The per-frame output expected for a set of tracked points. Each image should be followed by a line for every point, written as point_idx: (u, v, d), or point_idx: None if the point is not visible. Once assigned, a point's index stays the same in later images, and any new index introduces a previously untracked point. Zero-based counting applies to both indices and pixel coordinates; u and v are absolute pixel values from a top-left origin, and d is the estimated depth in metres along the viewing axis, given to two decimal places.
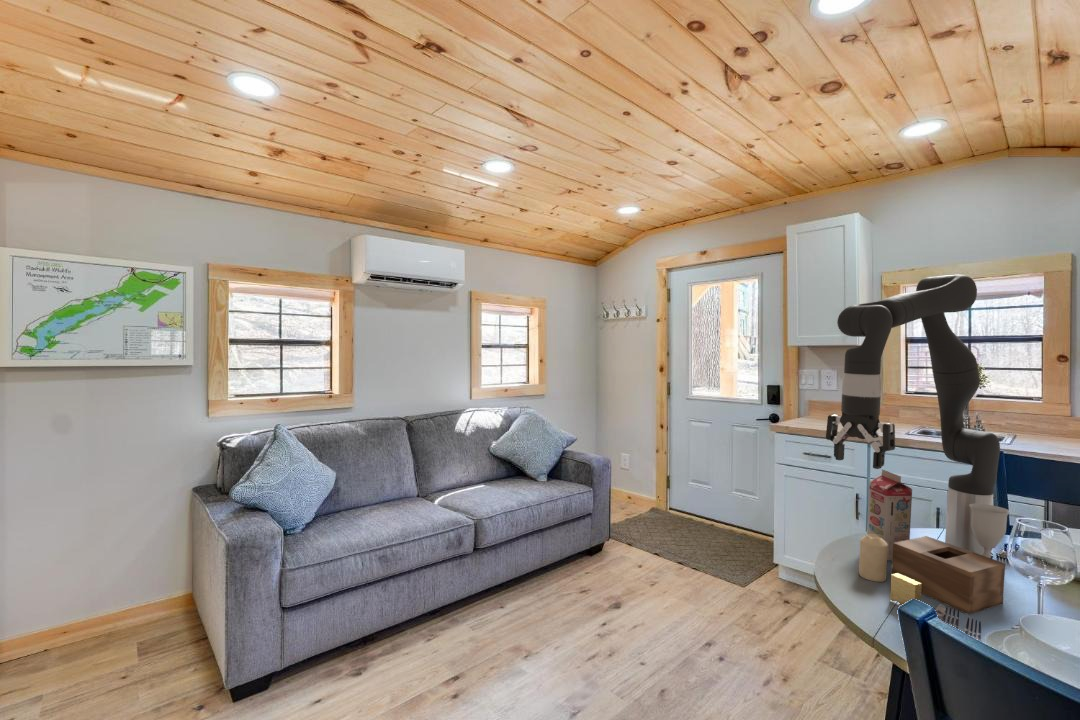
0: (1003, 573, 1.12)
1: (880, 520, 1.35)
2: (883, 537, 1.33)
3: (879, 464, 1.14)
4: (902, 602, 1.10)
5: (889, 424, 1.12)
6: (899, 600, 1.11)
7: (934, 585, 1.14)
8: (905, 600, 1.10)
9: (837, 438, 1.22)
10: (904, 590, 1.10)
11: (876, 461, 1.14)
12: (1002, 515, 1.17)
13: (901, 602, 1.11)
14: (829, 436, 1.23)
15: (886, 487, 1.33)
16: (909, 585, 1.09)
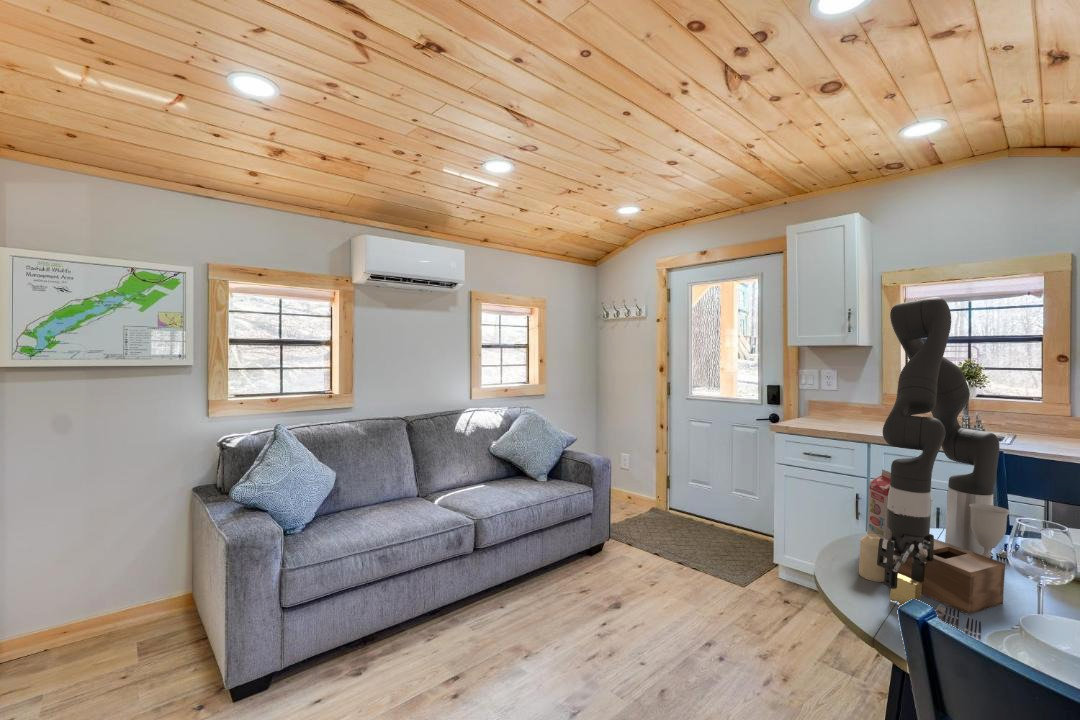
0: (1003, 573, 1.12)
1: (880, 520, 1.35)
2: (883, 537, 1.33)
3: None
4: (902, 602, 1.10)
5: None
6: (899, 600, 1.11)
7: (934, 585, 1.14)
8: (905, 600, 1.10)
9: (897, 565, 1.08)
10: (904, 590, 1.10)
11: None
12: (1002, 515, 1.17)
13: (901, 602, 1.11)
14: (891, 566, 1.07)
15: (886, 487, 1.33)
16: (909, 586, 1.09)
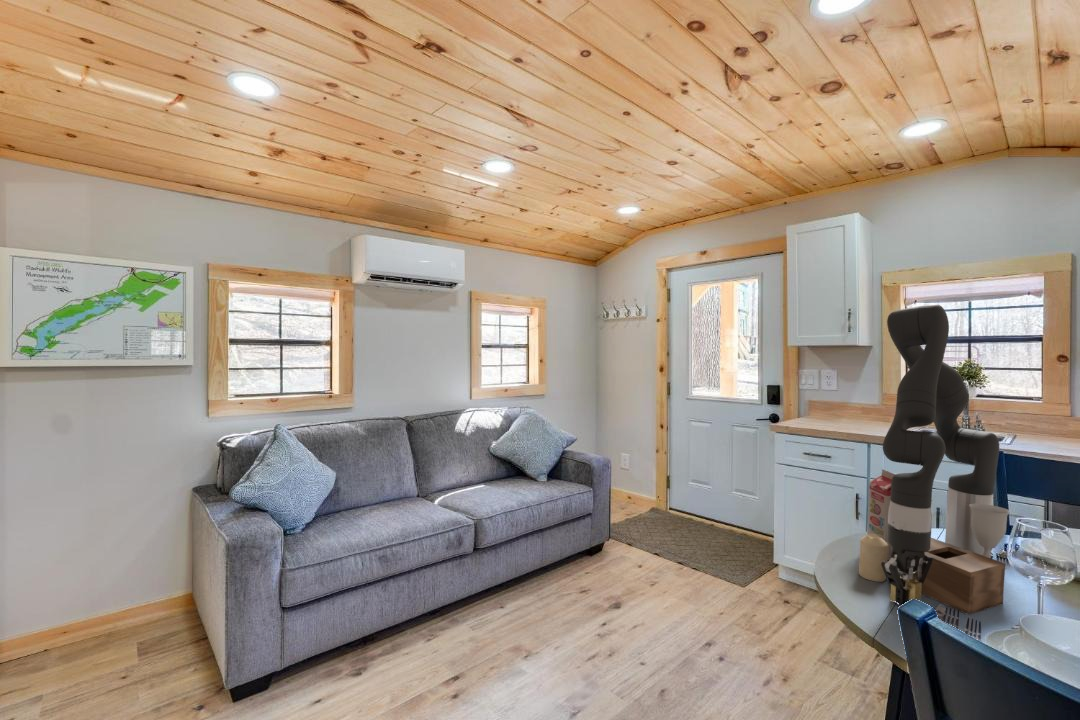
0: (1003, 573, 1.12)
1: (880, 520, 1.35)
2: (883, 537, 1.33)
3: None
4: None
5: None
6: None
7: (934, 585, 1.14)
8: None
9: (907, 583, 1.09)
10: None
11: None
12: (1002, 515, 1.17)
13: None
14: (902, 584, 1.08)
15: (886, 487, 1.33)
16: (909, 585, 1.09)
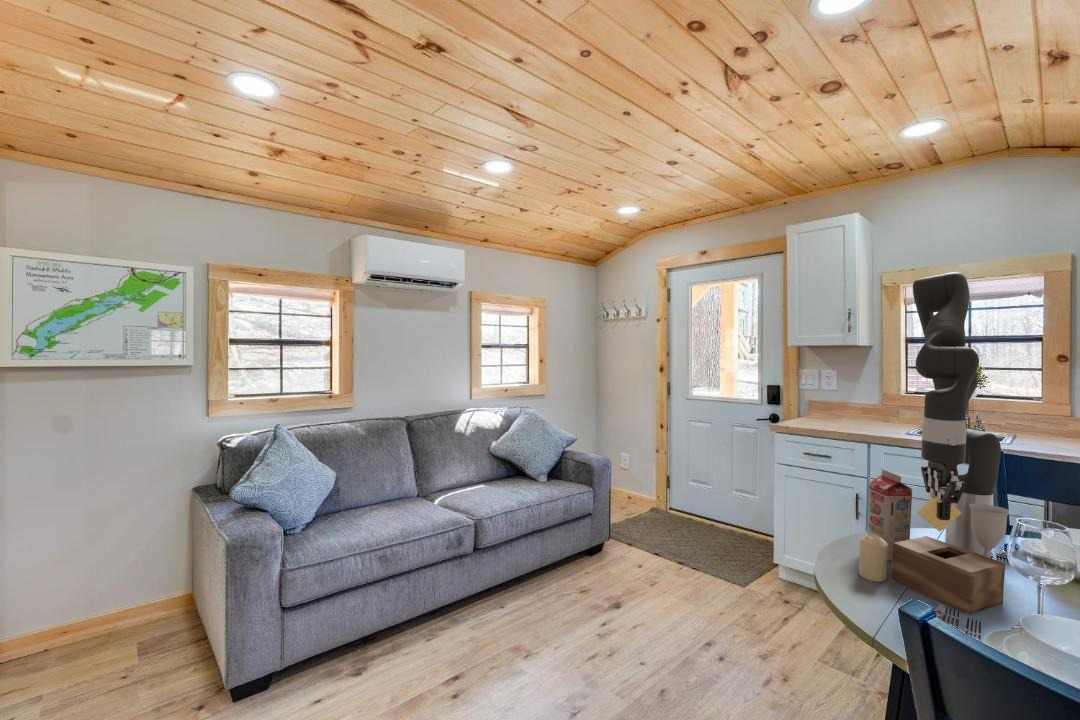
0: (1003, 573, 1.12)
1: (880, 520, 1.35)
2: (883, 537, 1.33)
3: None
4: (934, 520, 1.12)
5: None
6: (932, 518, 1.12)
7: (934, 585, 1.14)
8: (939, 520, 1.12)
9: None
10: None
11: None
12: (1002, 515, 1.17)
13: (933, 520, 1.12)
14: None
15: (886, 487, 1.33)
16: (955, 511, 1.11)
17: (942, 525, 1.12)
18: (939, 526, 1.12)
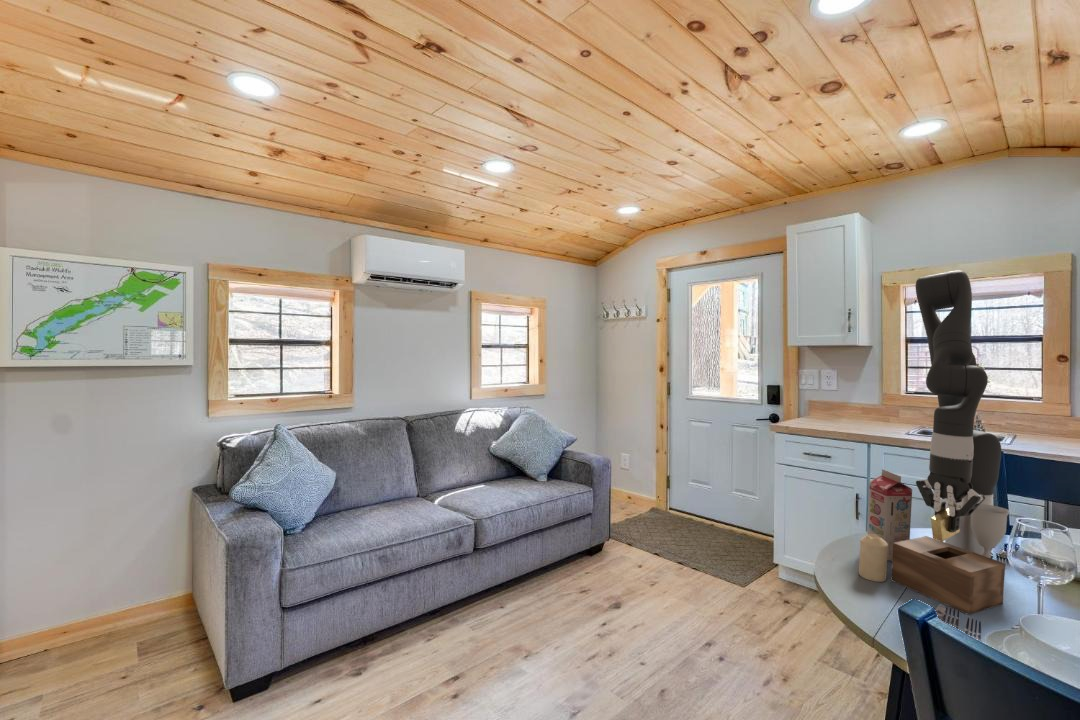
0: (1003, 573, 1.12)
1: (880, 520, 1.35)
2: (883, 537, 1.33)
3: None
4: (944, 529, 1.15)
5: None
6: (944, 527, 1.15)
7: (934, 585, 1.14)
8: (947, 531, 1.15)
9: None
10: None
11: None
12: (1002, 515, 1.17)
13: (944, 529, 1.15)
14: None
15: (886, 487, 1.33)
16: None
17: (946, 536, 1.15)
18: (944, 536, 1.15)
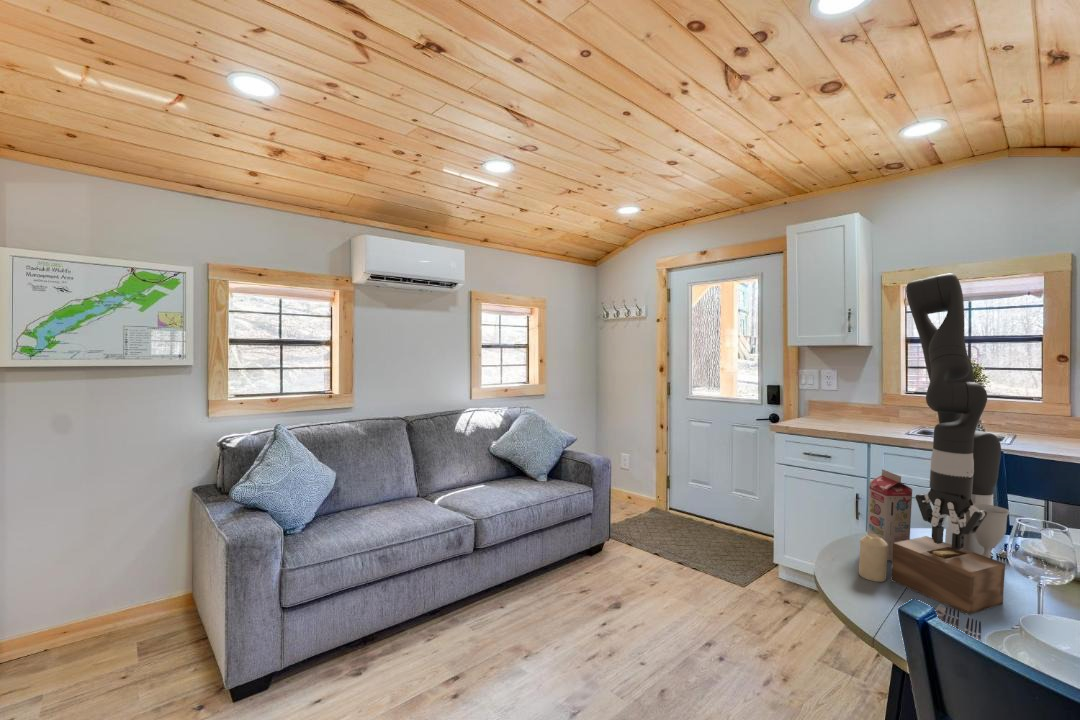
0: (1003, 573, 1.12)
1: (880, 520, 1.35)
2: (883, 537, 1.33)
3: None
4: None
5: None
6: None
7: (934, 585, 1.14)
8: None
9: None
10: None
11: None
12: (1002, 515, 1.17)
13: None
14: None
15: (886, 487, 1.33)
16: None
17: None
18: None
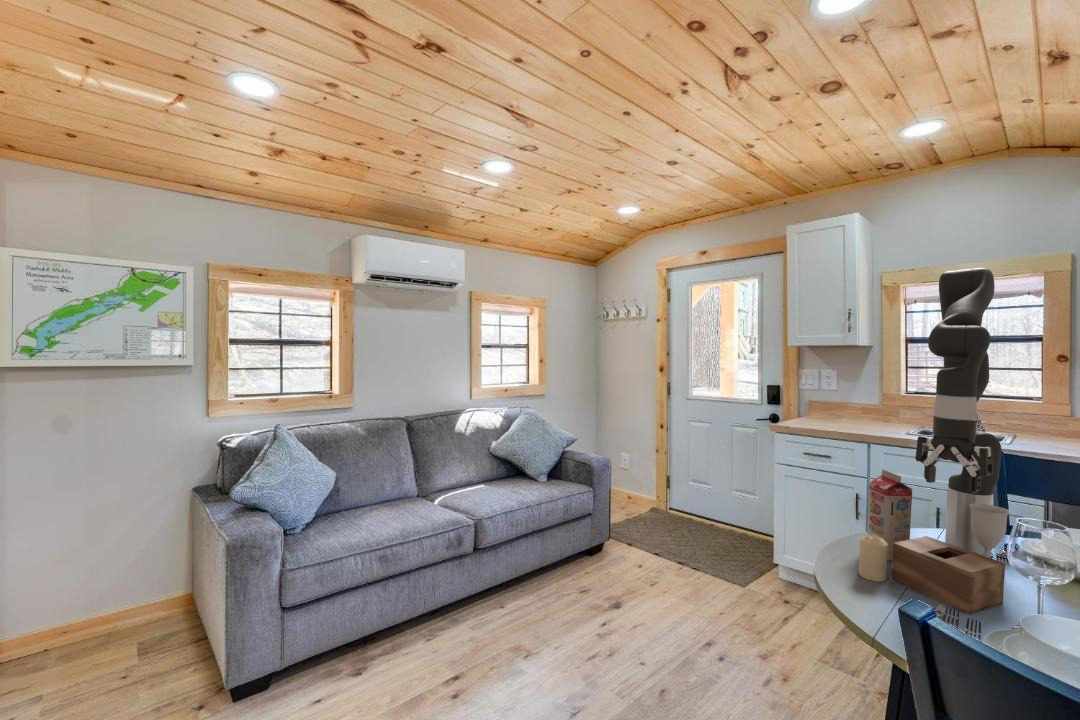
0: (1003, 573, 1.12)
1: (880, 520, 1.35)
2: (883, 537, 1.33)
3: None
4: None
5: None
6: None
7: (934, 585, 1.14)
8: None
9: None
10: None
11: None
12: (1002, 515, 1.17)
13: None
14: None
15: (886, 487, 1.33)
16: None
17: None
18: None
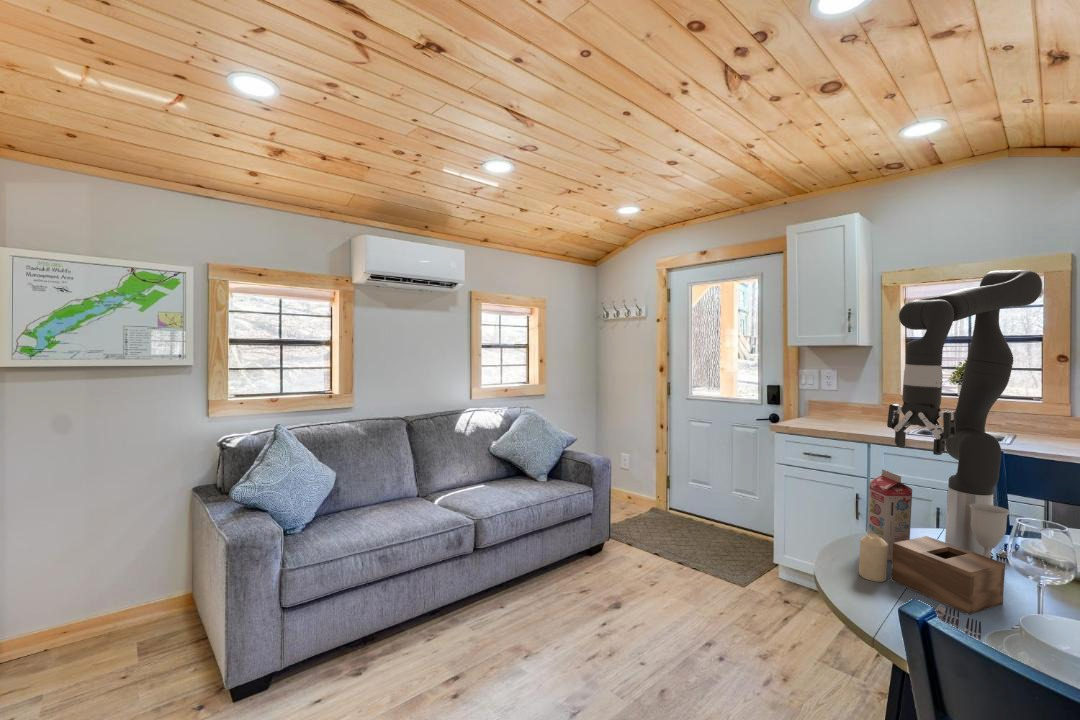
0: (1003, 573, 1.12)
1: (880, 520, 1.35)
2: (883, 537, 1.33)
3: None
4: None
5: None
6: None
7: (934, 585, 1.14)
8: None
9: None
10: None
11: None
12: (1002, 515, 1.17)
13: None
14: None
15: (886, 487, 1.33)
16: None
17: None
18: None
